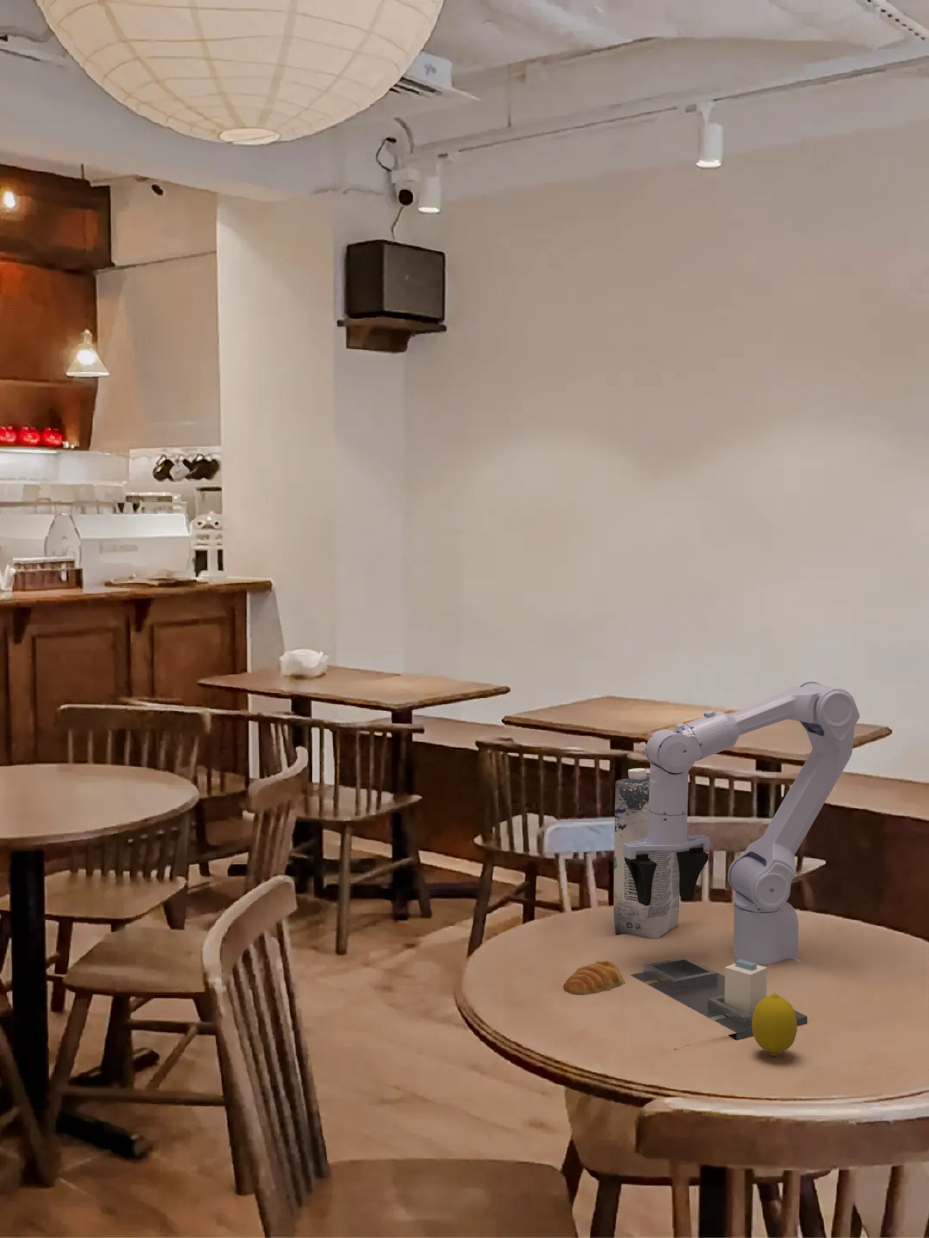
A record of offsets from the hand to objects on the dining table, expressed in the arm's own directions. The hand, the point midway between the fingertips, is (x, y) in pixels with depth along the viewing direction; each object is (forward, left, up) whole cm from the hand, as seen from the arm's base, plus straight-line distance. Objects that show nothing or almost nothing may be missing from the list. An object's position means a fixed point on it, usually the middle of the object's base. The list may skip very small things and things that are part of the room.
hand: (665, 900), depth 194 cm
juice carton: (-7, -15, -11) cm, 20 cm away
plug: (+2, +21, -9) cm, 23 cm away
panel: (+2, +14, -10) cm, 18 cm away
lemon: (+7, +32, -11) cm, 34 cm away
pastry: (+14, +3, -11) cm, 18 cm away
